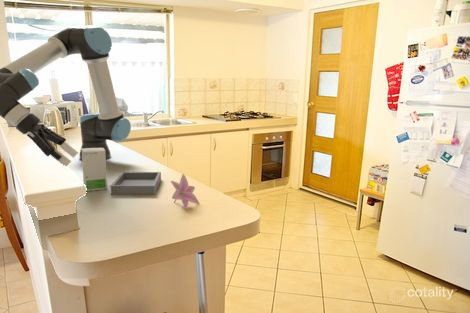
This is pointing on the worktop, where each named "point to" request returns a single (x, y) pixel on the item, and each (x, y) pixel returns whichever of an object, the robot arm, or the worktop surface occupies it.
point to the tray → (136, 183)
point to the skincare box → (94, 168)
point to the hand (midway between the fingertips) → (72, 159)
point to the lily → (184, 192)
